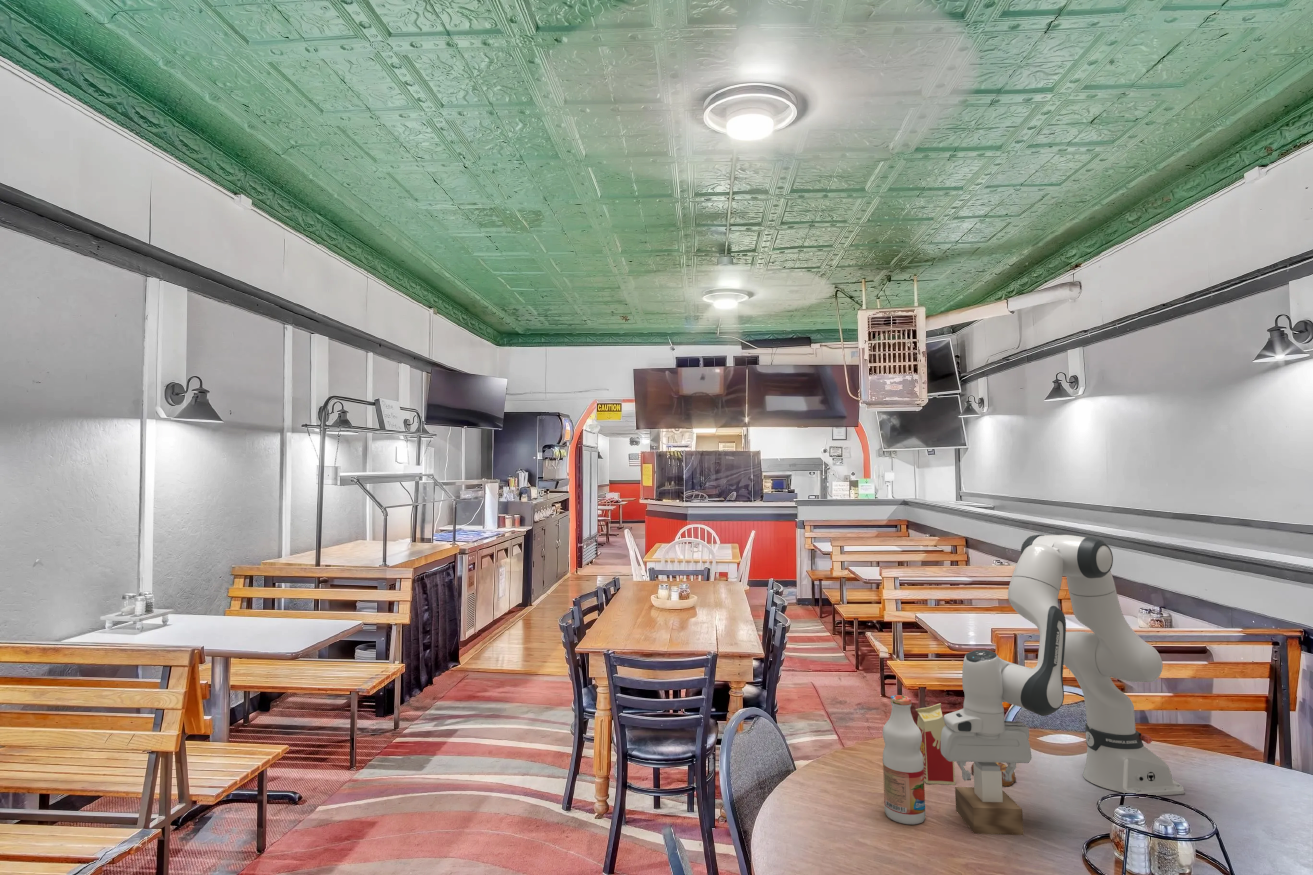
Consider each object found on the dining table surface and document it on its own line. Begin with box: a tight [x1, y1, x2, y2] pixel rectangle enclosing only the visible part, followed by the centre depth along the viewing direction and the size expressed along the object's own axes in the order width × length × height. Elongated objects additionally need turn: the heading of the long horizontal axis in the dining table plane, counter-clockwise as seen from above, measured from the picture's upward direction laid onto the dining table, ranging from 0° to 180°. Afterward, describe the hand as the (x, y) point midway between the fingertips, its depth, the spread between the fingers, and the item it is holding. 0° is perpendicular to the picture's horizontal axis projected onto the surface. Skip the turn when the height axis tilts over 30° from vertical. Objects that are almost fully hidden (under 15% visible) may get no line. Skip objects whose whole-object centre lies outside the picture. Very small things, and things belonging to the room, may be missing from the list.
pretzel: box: [970, 762, 1017, 787], centre depth 181 cm, size 12×11×4 cm
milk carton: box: [915, 702, 956, 786], centre depth 182 cm, size 9×9×20 cm
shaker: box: [972, 762, 1003, 802], centre depth 157 cm, size 5×5×8 cm
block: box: [954, 786, 1024, 836], centre depth 156 cm, size 11×11×6 cm
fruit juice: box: [882, 694, 926, 825], centre depth 160 cm, size 9×9×28 cm
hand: (986, 779), depth 157 cm, fingers open, 8 cm apart
